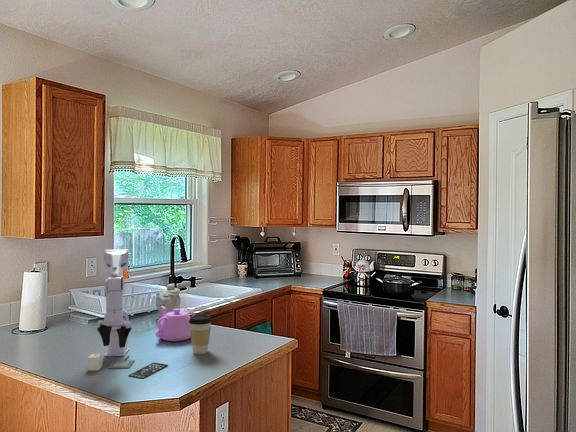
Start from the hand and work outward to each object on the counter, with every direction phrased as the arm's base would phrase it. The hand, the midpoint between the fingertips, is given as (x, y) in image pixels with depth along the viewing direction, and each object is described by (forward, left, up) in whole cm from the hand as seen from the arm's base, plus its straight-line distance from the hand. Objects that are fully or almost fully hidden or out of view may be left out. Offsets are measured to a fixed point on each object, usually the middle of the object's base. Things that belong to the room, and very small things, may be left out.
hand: (114, 346), depth 165 cm
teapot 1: (-83, +4, -11) cm, 84 cm away
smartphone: (-2, +12, -11) cm, 16 cm away
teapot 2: (-46, +14, -11) cm, 50 cm away
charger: (-6, -9, -10) cm, 15 cm away
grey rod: (-17, 0, -10) cm, 20 cm away
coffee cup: (-23, +29, -11) cm, 39 cm away
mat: (-9, 0, -10) cm, 14 cm away
